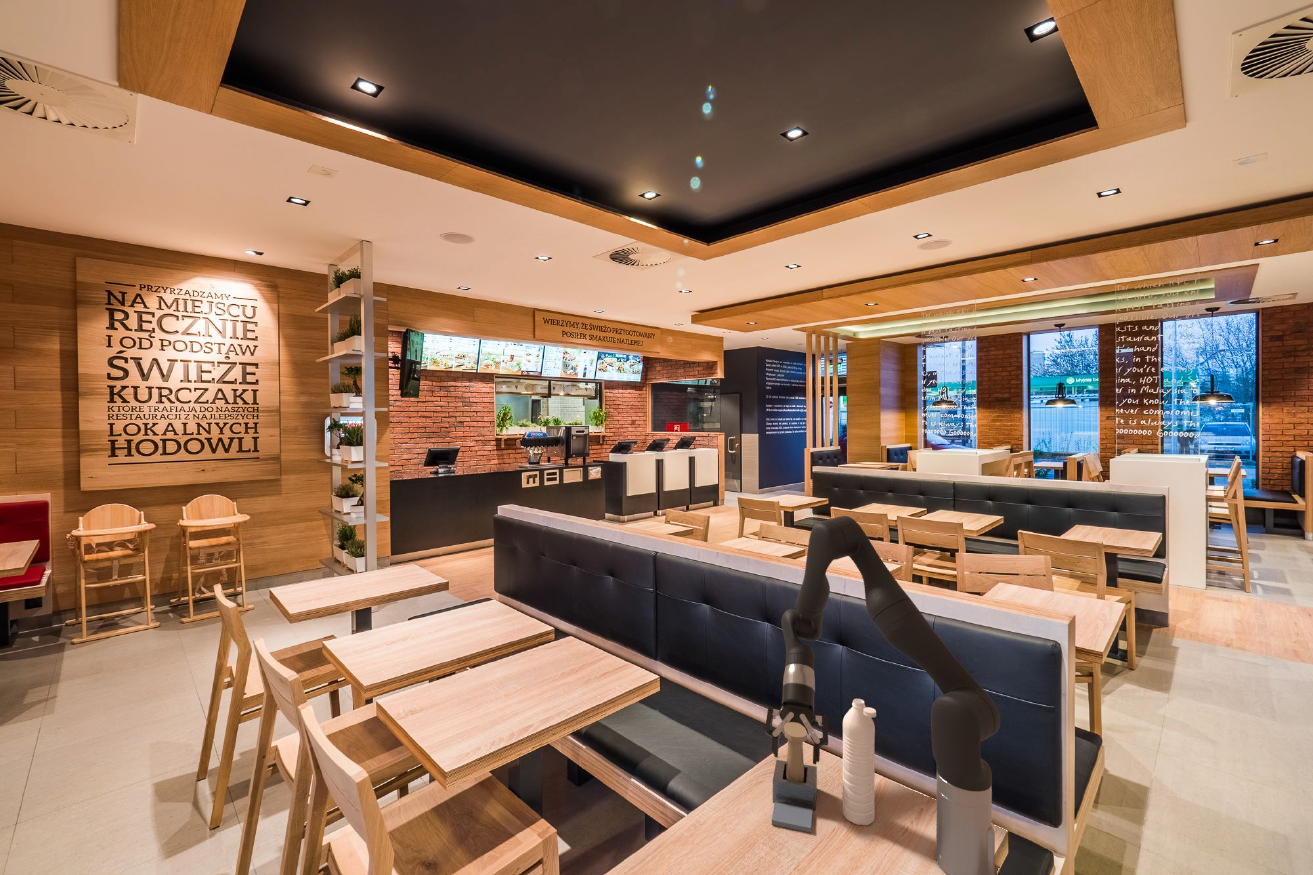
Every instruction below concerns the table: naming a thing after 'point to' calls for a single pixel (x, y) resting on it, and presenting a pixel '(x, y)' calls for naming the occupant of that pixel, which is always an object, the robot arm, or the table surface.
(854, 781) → the water bottle
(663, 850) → the table surface
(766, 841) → the table surface
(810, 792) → the socket block
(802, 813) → the rubber mat
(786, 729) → the handle
